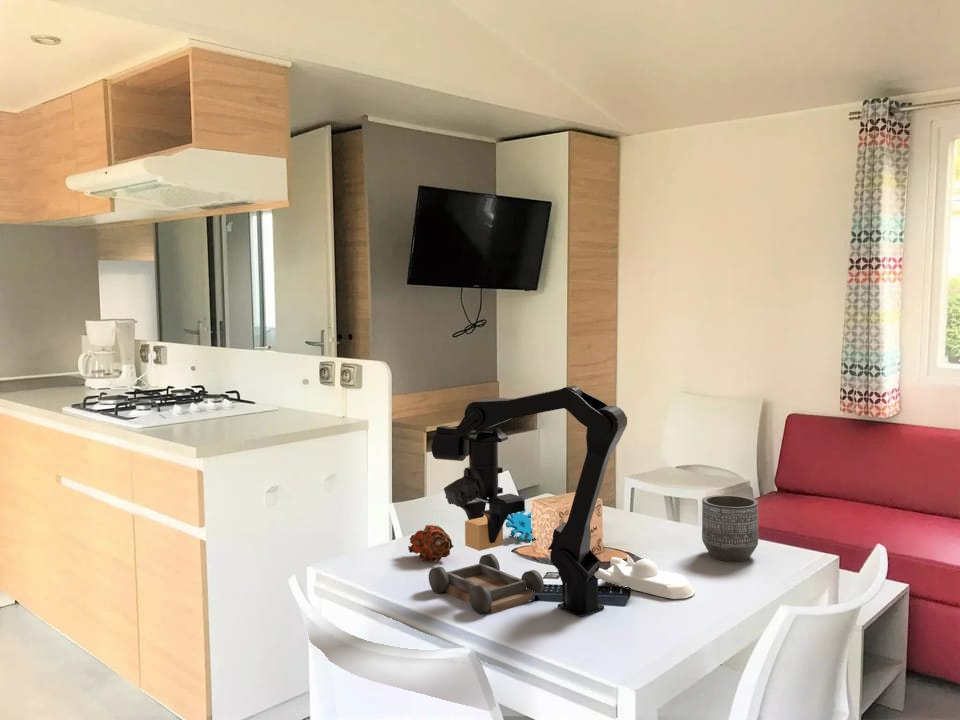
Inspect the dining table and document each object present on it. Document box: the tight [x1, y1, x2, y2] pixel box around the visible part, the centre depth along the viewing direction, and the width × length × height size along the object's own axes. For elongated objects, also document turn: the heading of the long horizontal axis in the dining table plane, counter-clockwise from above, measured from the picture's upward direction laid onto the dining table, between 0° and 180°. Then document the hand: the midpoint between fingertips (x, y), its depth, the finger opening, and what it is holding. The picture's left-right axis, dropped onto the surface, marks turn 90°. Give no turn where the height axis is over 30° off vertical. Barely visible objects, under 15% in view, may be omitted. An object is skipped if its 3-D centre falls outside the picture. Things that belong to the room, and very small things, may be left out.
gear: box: [505, 508, 533, 543], centre depth 201 cm, size 11×6×10 cm
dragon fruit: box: [407, 524, 455, 562], centre depth 185 cm, size 8×8×12 cm
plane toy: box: [594, 554, 696, 600], centre depth 164 cm, size 10×20×6 cm, turn 52°
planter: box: [701, 494, 759, 563], centre depth 183 cm, size 12×12×13 cm
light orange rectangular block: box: [464, 515, 504, 552], centre depth 161 cm, size 4×6×5 cm
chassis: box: [428, 553, 545, 614], centre depth 162 cm, size 19×15×5 cm
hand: (484, 540), depth 161 cm, fingers closed on light orange rectangular block, 4 cm apart
